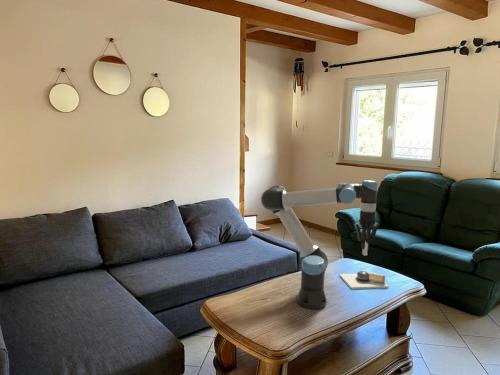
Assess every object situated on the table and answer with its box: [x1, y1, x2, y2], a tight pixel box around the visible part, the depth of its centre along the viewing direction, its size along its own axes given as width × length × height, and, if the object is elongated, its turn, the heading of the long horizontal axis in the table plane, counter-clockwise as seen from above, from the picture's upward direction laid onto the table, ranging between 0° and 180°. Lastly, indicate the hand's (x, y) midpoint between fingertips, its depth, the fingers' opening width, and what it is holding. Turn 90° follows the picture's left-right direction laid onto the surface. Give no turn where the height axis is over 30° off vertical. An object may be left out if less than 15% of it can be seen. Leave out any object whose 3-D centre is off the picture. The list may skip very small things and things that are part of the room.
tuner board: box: [338, 273, 390, 290], centre depth 215 cm, size 23×19×1 cm
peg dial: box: [356, 270, 386, 283], centre depth 213 cm, size 16×7×4 cm, turn 65°
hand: (364, 254), depth 190 cm, fingers closed
